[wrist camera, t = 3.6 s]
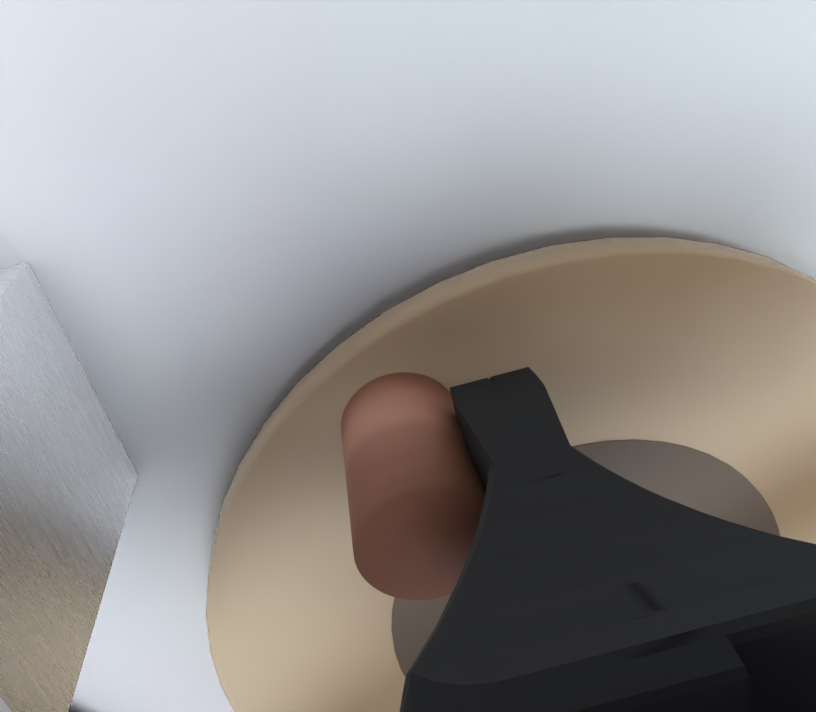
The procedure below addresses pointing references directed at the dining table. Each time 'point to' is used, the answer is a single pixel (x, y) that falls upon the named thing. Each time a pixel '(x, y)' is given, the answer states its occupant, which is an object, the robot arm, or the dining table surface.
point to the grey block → (51, 501)
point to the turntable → (454, 469)
